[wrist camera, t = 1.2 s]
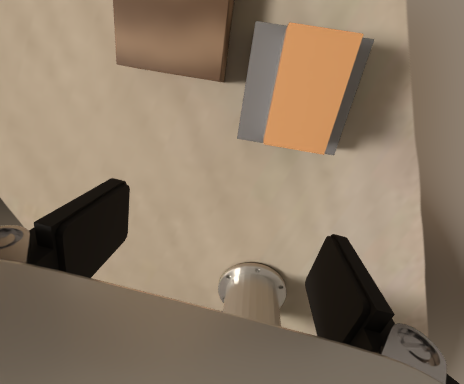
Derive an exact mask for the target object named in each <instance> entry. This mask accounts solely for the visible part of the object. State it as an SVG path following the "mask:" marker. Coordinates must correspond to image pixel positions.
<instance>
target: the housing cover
mask: <svg viewBox="0 0 464 384" xmlns="http://www.w3.org/2000/svg"><path fill="white" fill-rule="evenodd" d="M362 37H363V34H361V33H354V32H348V31H341V30H335V29H329V28H322V27H316V26H309V25H303V24H296V23H290V22H289V24H288V26H287V29H286V33H285V38H284V43H283V48H282V53H281V57H280V62H279V67H278V72H277V77H276V82H275V86H274V91H273V96H272V101H271V106H270V110H269V115H268V120H267V125H266V130H265V135H264V139H263V142H264V144H266V145H271V146H277V147H283V148H289V149H295V150H300V151H306V152H312V153H318V154H323V155H324V153H325V150H326V147H327V144H328V141H329V138H330V135H331V132H332V129H333V126H334V123H335V120H336V117H337V114H338V111H339V108H340V105H341V101H342V98H343V95H344V92H345V89H346V86H347V83H348V80H349V77H350V74H351V71H352V68H353V65H354V62H355V59H356V56H357V53H358V50H359V47H360V43H361V40H362Z"/></svg>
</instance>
